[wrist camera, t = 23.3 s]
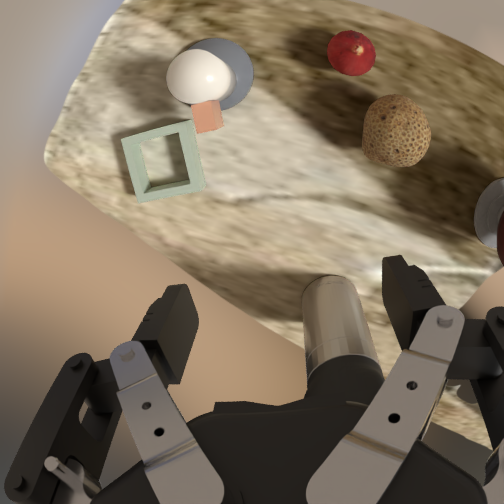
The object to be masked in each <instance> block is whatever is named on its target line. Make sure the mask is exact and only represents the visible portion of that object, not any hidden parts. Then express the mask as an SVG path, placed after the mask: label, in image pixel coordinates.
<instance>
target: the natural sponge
mask: <svg viewBox="0 0 504 504" xmlns="http://www.w3.org/2000/svg"><path fill="white" fill-rule="evenodd" d="M430 140H431V130H430V126H429V123H428V121H427V119H426V117H425V114H424V113H423V111H422V110H421V108H420V107H419V106H418V105H417V104H416V103H414V102H413V101H412V100H411V99H409V98H407V97H405V96H402V95H396V94H394V95H387V96H383V97H381V98H379V99H378V100H376V101H375V102H373V103H372V104H371V105H370V107H369V108H368V110H367V112H366V115H365V118H364V125H363V136H362V148H363V152H364V154H365V155H366V157H367V158H369V159H370V160H372V161H375V162H378V163H382V164H387V165H391V166H397V167H409V166H412V165H414V164H416V163H417V162H419V161H420V160H421V159H422V158H423V156H424V155H425V153H426V151H427V150H428V147H429V144H430Z"/></svg>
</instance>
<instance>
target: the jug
mask: <svg viewBox="0 0 504 504" xmlns="http://www.w3.org/2000/svg"><path fill="white" fill-rule="evenodd" d="M166 81H167V86H168V89H169V91H170V92H171V94H172V95H173V96H174V97H175V98H176V99H178V100H180V101H182V102H184V103H189V104H194V105H191V108H192V112H193V117H194V122H195V126H196V131H197V134H198V133H203V132H208V131H212V130H217V129H219V128H221V127H223V126H224V123H223V118H222V114H221V109H220V104H219V101H223V100H225V99H227V98H228V97H229V96H230V95H231V94H232V93H233V92H234V90H235V88H236V84H237V77H236V74H235V71H234V70H233V68H232V67H231V66H230V65H228V64H227V63H225V62H224V61H222V60H221V59H219V58H218V57H216V56H215V55H213V54H211V53H210V52H208V51H205V50H201V49H192V50H188V51H185V52H183V53H181V54H179V55H178V56H177V57H176V58H175V59H174V60H173V61H172V62H171V64H170V65H169V68H168V70H167V75H166ZM197 103H198V104H197Z"/></svg>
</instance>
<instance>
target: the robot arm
mask: <svg viewBox="0 0 504 504" xmlns="http://www.w3.org/2000/svg"><path fill="white" fill-rule="evenodd" d="M382 297H383V303H384V306H385V308H386V311H387V313H388V316H389V318H390V321H391V324H392V326H393V329H394V331H395V334H396V337H397V339H398V342H399V345H400V347H401V350H402V352H401V354H400V356H399V358H398V359H397V361H396V363H395V365H394V366H393V368H392V370H391V371H390V373H389V375H388V376H387V378H386V380H385V379H384V377H383V374H382V370H381V367H380V363H379V360H378V356H377V353H376V350H375V347H374V343H373V340H372V337H371V333H370V330H369V327H368V324H367V321H366V317H365V314H364V311H363V308H362V305H361V302H360V299H359V296H358V293H357V290H356V288H355V286H354V285H353V284H352V283H351V281H349V280H347V279H346V278H343V277H341V276H325V277H321V278H319V279H317V280H315V281H314V282H312V283H311V284H310V285H309V286H308V287H307V288H306V290H305V291H304V293H303V296H302V312H303V328H304V342H305V357H306V372H307V391H306V394H305V396H304V399H301V400H298V401H294V402H291V403H288V404H284V405H281V406H274V405H266V404H260V403H254V402H247V401H239V402H238V401H237V402H215V405H214V410H213V412H209V413H206V414H203V415H200V416H198V417H196V418H194V419H192V420H190V421H189V422H187V423H186V421H185V420H184V418H183V416H182V415H181V413H180V411H179V409H178V408H177V406H176V404H175V403H174V401H173V399H172V398H171V396H170V394H169V392H168V390H167V388H168V385H169V384H180V381H181V379H182V376H183V372H184V369H185V366H186V363H187V360H188V357H189V354H190V351H191V348H192V345H193V342H194V339H195V335H196V333H197V330H198V325H199V318H198V313H197V311H196V308H195V305H194V302H193V299H192V297H191V294H190V291H189V288H188V286H187V285H186V284H178V285H170V286H168V287H167V288H166V290H165V292H164V294H163V296H162V298H158V299H157V300H156V301H155V302H154V303H153V304H152V305H151V306H150V307H149V309H148V311H147V313H146V315H145V316H144V318H143V322H141V324H140V325H139V327H138V329H137V331H136V333H135V335H134V336H133V338H132V340H131V341H128V342H125V343H122V344H120V345H119V346H117V347H116V348H115V349H114V350H113V351H112V353H111V355H110V358H109V359H105V360H101V361H97V362H94V361H93V359H92V357H91V356H90V355H89V354H87V353H79V354H76V355H74V356H72V357H71V358H69V359H68V360H67V361H66V362H65V364H64V365H63V367H62V369H61V371H60V372H59V374H58V376H57V378H56V379H55V381H54V383H53V385H52V386H51V388H50V390H49V392H48V394H47V395H46V397H45V399H44V401H43V403H42V405H41V406H40V408H39V410H38V412H37V414H36V416H35V418H34V420H33V422H32V424H31V426H30V428H29V430H28V432H27V434H26V436H25V438H24V440H23V442H22V444H21V446H20V448H19V451H18V452H17V455H16V457H15V459H14V461H13V463H12V465H11V468H10V470H9V472H8V475H7V477H6V479H5V484H4V489H5V493H6V495H7V496H8V498H9V499H10V500H12V501H13V502H15V503H16V504H504V307H495V308H492V309H490V310H489V311H488V312H487V315H486V319H482V320H481V319H465V318H464V316H463V314H462V313H461V312H460V311H459V310H458V309H456V308H454V307H451V306H447V305H446V304H445V302H444V301H443V299H442V298H441V296H440V295H439V293H438V292H437V290H436V288H435V287H434V286H433V284H432V282H431V281H430V280H429V278H428V276H427V275H426V273H425V272H424V271H423V270H422V269H420V268H418V267H417V266H415V265H412V266H408V264H407V263H406V261H405V260H404V258H403V257H402V255H396V256H390V257H384V258H383V260H382ZM448 379H469V380H470V382H471V385H472V388H473V391H474V393H475V396H476V399H477V402H478V404H479V407H480V410H481V413H482V416H483V419H484V422H485V425H486V428H487V431H488V435H489V438H490V441H491V445H492V448H493V453H492V454H491V456H490V457H489V459H488V461H487V463H486V466H485V483H484V486H483V487H482V486H481V484H480V483H479V482H478V481H477V480H476V479H475V478H474V477H473V476H471V475H470V474H468V473H467V472H465V471H464V470H463V469H461V468H460V467H458V466H456V465H455V464H453V463H452V462H451V461H449V460H448V459H446V458H445V457H443V456H442V455H441V454H439V453H438V452H436V451H435V450H433V449H432V448H431V447H429V446H428V445H426V444H425V443H423V442H422V439H423V437H424V435H425V432H426V430H427V428H428V426H429V424H430V421H431V419H432V417H433V415H434V412H435V410H436V408H437V406H438V403H439V401H440V399H441V396H442V394H443V391H444V389H445V387H446V384H447V381H448ZM83 402H85V403H86V404H87V405H88V409H87V411H86V414H85V416H84V418H83V421H82V423H81V424H80V421H79V411H80V409H81V407H82V404H83ZM122 410H123V412H124V415H125V418H126V421H127V423H128V426H129V428H130V431H131V434H132V436H133V438H134V441H135V443H136V445H137V448H138V450H139V453H140V455H141V457H142V460H141V461H139V462H138V463H137V464H135V465H134V466H133V467H132V468H130V469H129V470H128V471H126V472H125V473H124V474H122V475H121V476H120V477H119V478H117V479H116V480H114V481H113V482H112V483H110V484H109V485H108V486H107V487H105V488H104V489H102V487H101V483H100V481H99V478H100V475H101V472H102V469H103V466H104V463H105V460H106V457H107V453H108V450H109V448H110V445H111V441H112V439H113V436H114V433H115V430H116V427H117V424H118V421H119V418H120V415H121V413H122Z"/></svg>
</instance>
